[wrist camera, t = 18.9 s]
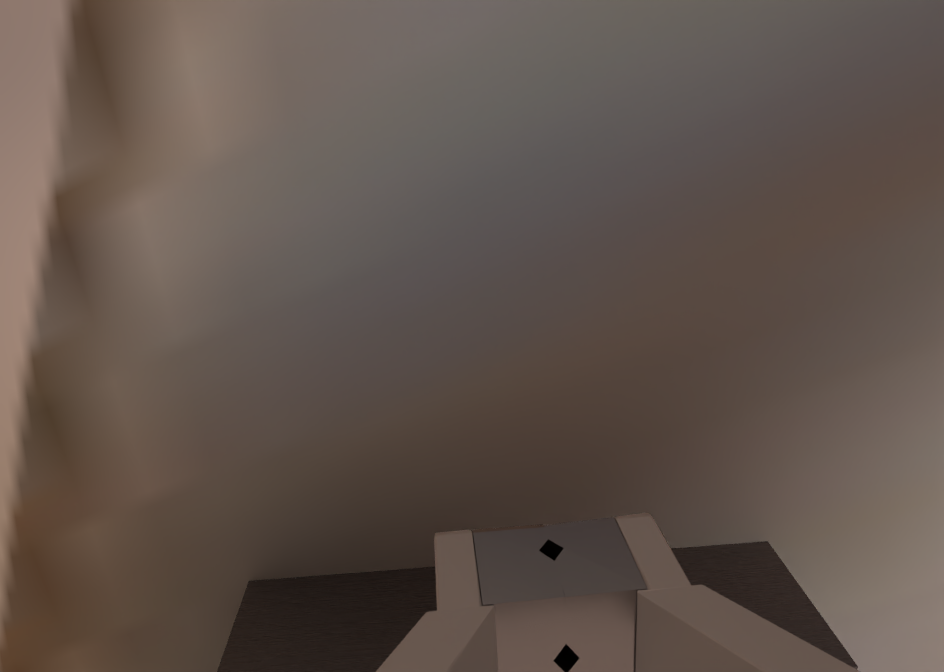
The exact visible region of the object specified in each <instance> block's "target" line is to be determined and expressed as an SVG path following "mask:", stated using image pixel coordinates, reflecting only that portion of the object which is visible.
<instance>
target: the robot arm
mask: <svg viewBox="0 0 944 672" xmlns="http://www.w3.org/2000/svg"><path fill="white" fill-rule="evenodd" d="M434 549H435V573H436V598H437V611H430V612H426V613H425V614H424V615H423V616H422V618H421V619H420V620H419V621H418V622H417V624H416V625H415V626H414V627H413V628H412V629H411V631H410V632H409V633H408V634H407V635H406V637H405V638H404V639H403V640H402V641H401V642H400V644H399V645H398V646H397V647H396V648H395V649H394V651H393V652H392V653H391V654H390V655H389V657H388V658H387V659H386V660H385V661H384V662H383V664H382V665H381V666H380V667H379V668H378V670H377V671H376V672H860V671H858V670H856V669H855V668H853V667H851V666H849V665H847V664H845V663H844V662H842V661H840V660H838V659H836V658H835V657H833V656H831V655H829V654H827V653H826V652H824V651H822V650H820V649H818V648H816V647H815V646H813V645H811V644H809V643H807V642H806V641H804V640H802V639H800V638H798V637H796V636H795V635H793V634H791V633H789V632H787V631H786V630H784V629H782V628H780V627H778V626H777V625H775V624H773V623H771V622H769V621H767V620H766V619H764V618H762V617H760V616H758V615H757V614H755V613H753V612H751V611H749V610H748V609H746V608H744V607H742V606H740V605H738V604H737V603H735V602H733V601H731V600H729V599H728V598H726V597H724V596H722V595H720V594H718V593H717V592H715V591H713V590H711V589H709V588H708V587H706V586H704V585H691V583H690V582H689V580H688V578H687V576H686V575H685V573H684V571H683V569H682V568H681V566H680V564H679V562H678V561H677V559H676V557H675V555H674V554H673V552H672V550H671V548H670V547H669V545H668V543H667V541H666V540H665V538H664V536H663V534H662V533H661V531H660V529H659V527H658V526H657V524H656V522H655V520H654V519H653V517H652V515H650V514H648V513H647V512H646V513H638V514H630V515H622V516H615V517H612V518H603V519H594V520H585V521H576V522H567V523H558V524H549V525H543V524H539V525H525V526H512V527H498V528H484V529H472V532H471V531H470V529H468V530H458V531H448V532H438V533H435V537H434Z"/></svg>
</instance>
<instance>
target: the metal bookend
mask: <svg viewBox="0 0 944 672" xmlns="http://www.w3.org/2000/svg"><path fill="white" fill-rule="evenodd" d="M671 550H672V552H673V554H674V555H675V557H676V559H677V561H678V562H679V564H680V566H681V568H682V569H683V571H684V573H685V575H686V576H687V578H688V580H689V582H690V583H691V585H704V586H706V587H708V588H709V589H711V590H713V591H715V592H717V593H718V594H720V595H722V596H724V597H726V598H728V599H729V600H731V601H733V602H735V603H737V604H738V605H740V606H742V607H744V608H746V609H748V610H749V611H751V612H753V613H755V614H757V615H758V616H760V617H762V618H764V619H766V620H767V621H769V622H771V623H773V624H775V625H777V626H778V627H780V628H782V629H784V630H786V631H787V632H789V633H791V634H793V635H795V636H796V637H798V638H800V639H802V640H804V641H806V642H807V643H809V644H811V645H813V646H815V647H816V648H818V649H820V650H822V651H824V652H826V653H827V654H829V655H831V656H833V657H835V658H836V659H838V660H840V661H842V662H844V663H845V664H847V665H849V666H851V667H853V668H855V669H856V670H857V668H858V666H857V665H856V663H855V662H854V661H853V659H852V658H851V656H850V655H849V654H848V652H847V651H846V649H845V648H844V647H843V645H842V644H841V642H840V641H839V640H838V638H837V637H836V636H835V634H834V633H833V631H832V630H831V629H830V627H829V626H828V624H827V623H826V622H825V620H824V619H823V617H822V616H821V615H820V613H819V612H818V611H817V609H816V608H815V606H814V605H813V604H812V602H811V601H810V599H809V598H808V597H807V595H806V594H805V592H804V591H803V590H802V588H801V587H800V586H799V584H798V583H797V581H796V580H795V579H794V577H793V576H792V574H791V573H790V572H789V570H788V569H787V567H786V566H785V565H784V563H783V562H782V561H781V559H780V558H779V556H778V555H777V554H776V552H775V551H774V549H773V548H772V547H771V545H770V544H769V542H768V541H765V542H752V543H739V544H726V545H713V546H700V547H687V548H674V549H671ZM430 611H437V598H436V573H435V567H426V568H413V569H400V570H387V571H374V572H361V573H348V574H335V575H322V576H309V577H296V578H283V579H270V580H257V581H249V582H248V585H247V588H246V591H245V594H244V597H243V600H242V602H241V605H240V608H239V611H238V614H237V617H236V619H235V622H234V625H233V628H232V631H231V634H230V636H229V639H228V642H227V645H226V648H225V651H224V654H223V656H222V659H221V662H220V665H219V668H218V671H217V672H376V671H377V670H378V668H379V667H380V666H381V665H382V664H383V662H384V661H385V660H386V659H387V658H388V657H389V655H390V654H391V653H392V652H393V651H394V649H395V648H396V647H397V646H398V645H399V644H400V642H401V641H402V640H403V639H404V638H405V637H406V635H407V634H408V633H409V632H410V631H411V629H412V628H413V627H414V626H415V625H416V624H417V622H418V621H419V620H420V619H421V618H422V616H423V615H424V614H425V613H426V612H430Z"/></svg>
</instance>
